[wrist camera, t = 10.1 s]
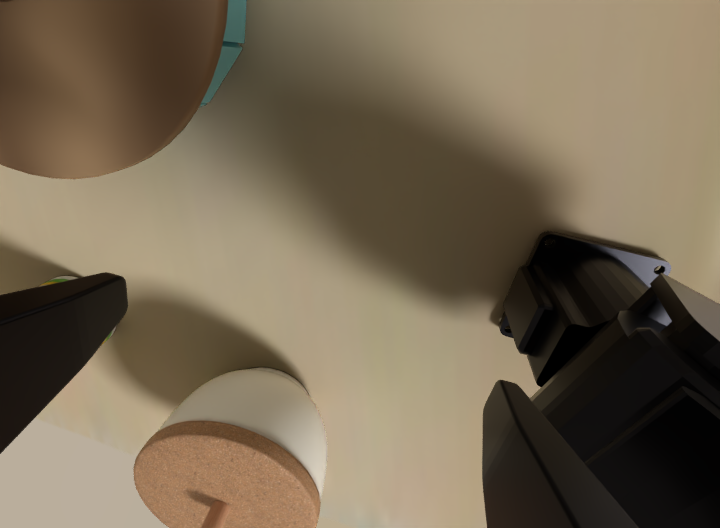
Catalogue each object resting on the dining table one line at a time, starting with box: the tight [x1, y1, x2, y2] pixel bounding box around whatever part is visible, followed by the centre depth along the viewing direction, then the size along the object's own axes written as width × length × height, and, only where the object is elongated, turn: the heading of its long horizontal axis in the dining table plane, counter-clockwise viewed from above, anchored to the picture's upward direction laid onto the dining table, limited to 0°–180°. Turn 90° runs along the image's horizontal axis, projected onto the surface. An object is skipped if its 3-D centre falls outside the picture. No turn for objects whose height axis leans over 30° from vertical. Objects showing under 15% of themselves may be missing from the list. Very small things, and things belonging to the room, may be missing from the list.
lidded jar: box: [134, 367, 328, 528], centre depth 25 cm, size 11×11×9 cm
